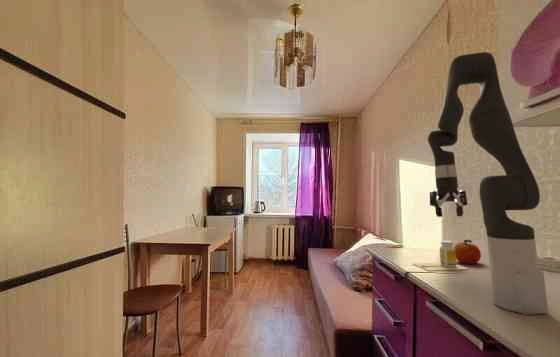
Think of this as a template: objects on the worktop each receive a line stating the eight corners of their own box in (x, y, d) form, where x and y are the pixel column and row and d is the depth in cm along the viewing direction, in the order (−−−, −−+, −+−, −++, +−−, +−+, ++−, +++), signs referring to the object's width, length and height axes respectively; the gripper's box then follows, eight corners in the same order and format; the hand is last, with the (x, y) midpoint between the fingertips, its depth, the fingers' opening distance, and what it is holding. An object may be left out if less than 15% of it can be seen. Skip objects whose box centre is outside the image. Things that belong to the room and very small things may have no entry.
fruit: (472, 260, 112) (470, 237, 113) (487, 265, 103) (484, 240, 104) (449, 260, 113) (447, 237, 114) (461, 265, 104) (459, 240, 105)
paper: (468, 269, 98) (468, 268, 98) (428, 271, 97) (428, 270, 97) (448, 262, 109) (448, 261, 109) (412, 264, 108) (412, 263, 108)
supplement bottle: (438, 265, 104) (436, 241, 104) (443, 263, 107) (441, 240, 108) (454, 267, 99) (451, 242, 100) (458, 265, 103) (456, 241, 104)
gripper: (435, 176, 101) (439, 217, 99) (469, 175, 102) (473, 216, 100) (423, 178, 108) (427, 216, 106) (455, 177, 109) (459, 215, 107)
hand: (449, 216), depth 103 cm, fingers open, 8 cm apart
